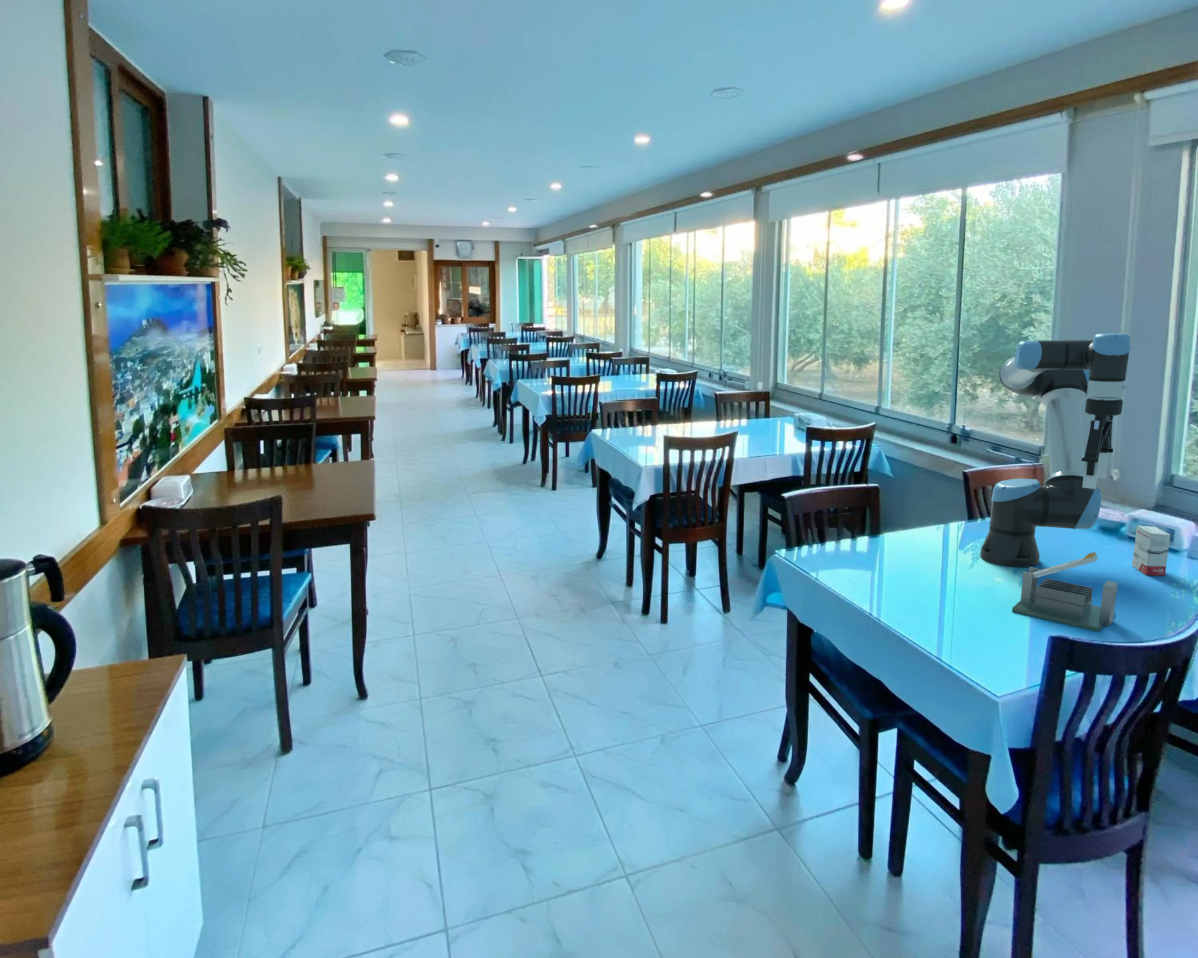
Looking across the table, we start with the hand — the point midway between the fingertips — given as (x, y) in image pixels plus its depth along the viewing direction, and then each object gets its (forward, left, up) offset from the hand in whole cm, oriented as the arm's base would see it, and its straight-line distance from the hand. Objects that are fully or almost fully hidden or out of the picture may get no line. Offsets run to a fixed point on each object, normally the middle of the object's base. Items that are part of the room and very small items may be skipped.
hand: (1094, 482), depth 191 cm
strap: (-1, -19, -18) cm, 26 cm away
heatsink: (0, -19, -29) cm, 34 cm away
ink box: (+10, +28, -29) cm, 42 cm away
